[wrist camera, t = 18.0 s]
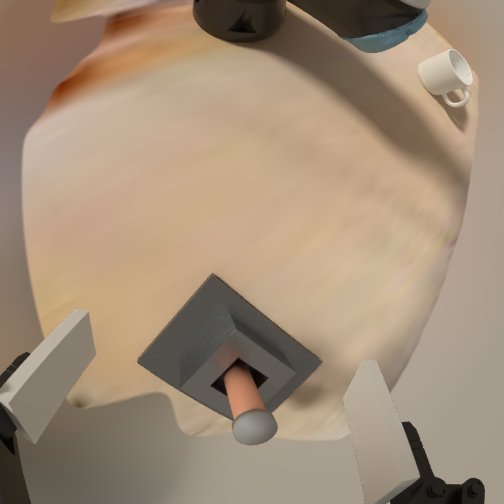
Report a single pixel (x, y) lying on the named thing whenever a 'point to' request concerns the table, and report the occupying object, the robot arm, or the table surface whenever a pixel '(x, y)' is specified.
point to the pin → (247, 406)
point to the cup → (446, 75)
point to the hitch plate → (207, 325)
